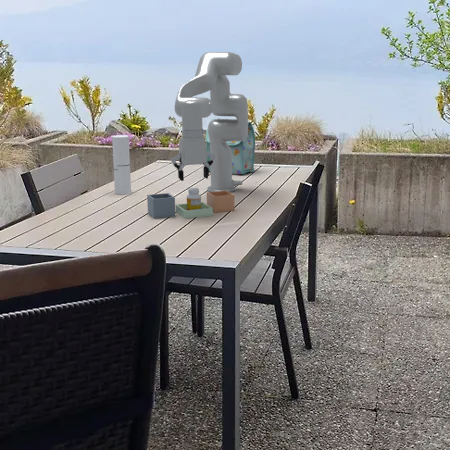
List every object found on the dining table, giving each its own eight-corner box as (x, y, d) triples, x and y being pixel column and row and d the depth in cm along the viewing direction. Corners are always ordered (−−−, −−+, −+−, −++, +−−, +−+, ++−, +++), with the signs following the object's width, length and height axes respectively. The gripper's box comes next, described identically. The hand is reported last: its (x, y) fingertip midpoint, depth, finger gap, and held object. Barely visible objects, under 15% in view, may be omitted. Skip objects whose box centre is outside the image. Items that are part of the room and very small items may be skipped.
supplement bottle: (186, 212, 261) (186, 187, 258) (200, 212, 261) (200, 187, 259) (187, 215, 256) (186, 190, 253) (201, 215, 256) (201, 190, 254)
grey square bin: (169, 213, 262) (168, 193, 260) (175, 218, 255) (174, 197, 253) (147, 215, 259) (147, 194, 257) (153, 220, 252) (153, 199, 250)
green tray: (203, 210, 266) (202, 202, 265) (212, 217, 255) (212, 208, 254) (175, 213, 262) (175, 204, 261) (184, 220, 252) (184, 210, 251)
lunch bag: (202, 172, 345) (202, 119, 338) (219, 167, 358) (219, 116, 351) (241, 176, 333) (241, 121, 326) (257, 171, 347) (258, 118, 340)
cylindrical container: (128, 194, 295) (125, 137, 288) (112, 194, 296) (109, 137, 290) (133, 191, 302) (131, 135, 295) (118, 190, 303) (115, 135, 297)
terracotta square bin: (226, 207, 271) (226, 190, 269) (234, 212, 263) (234, 194, 261) (206, 209, 268) (206, 192, 266) (214, 214, 260) (214, 196, 258)
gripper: (211, 130, 257) (211, 175, 262) (167, 134, 251) (169, 179, 256) (217, 133, 250) (218, 178, 255) (173, 137, 244) (174, 183, 249)
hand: (193, 179), depth 256 cm, fingers open, 9 cm apart
